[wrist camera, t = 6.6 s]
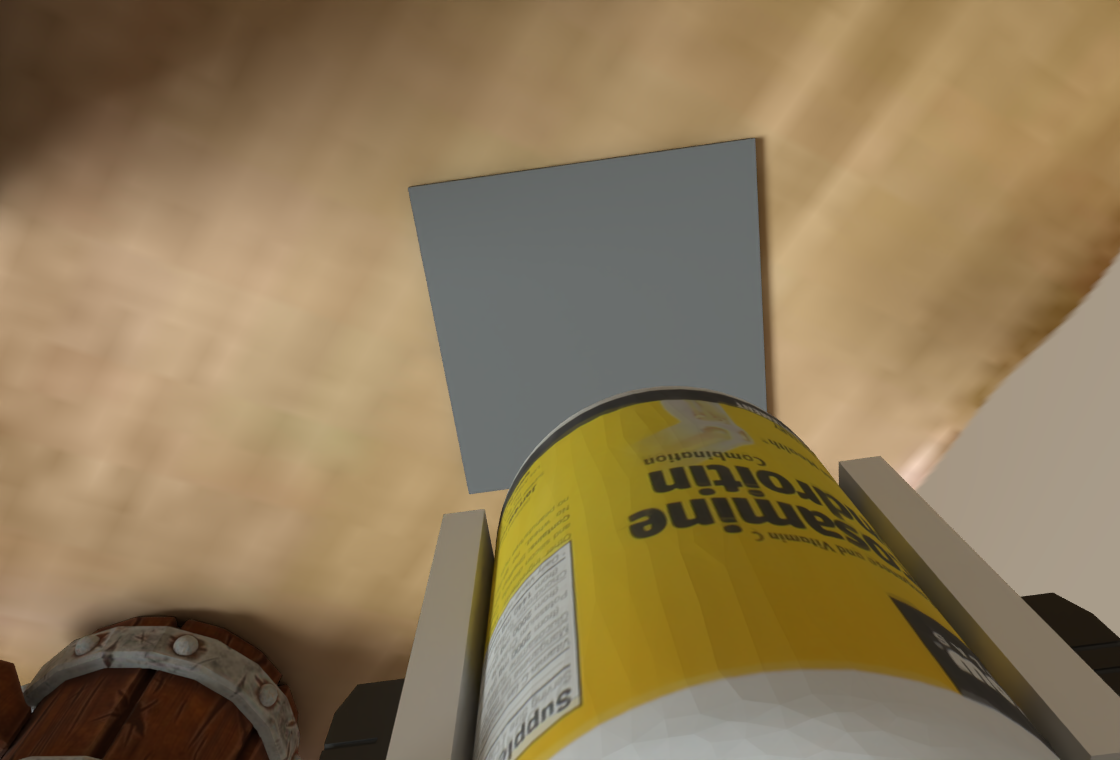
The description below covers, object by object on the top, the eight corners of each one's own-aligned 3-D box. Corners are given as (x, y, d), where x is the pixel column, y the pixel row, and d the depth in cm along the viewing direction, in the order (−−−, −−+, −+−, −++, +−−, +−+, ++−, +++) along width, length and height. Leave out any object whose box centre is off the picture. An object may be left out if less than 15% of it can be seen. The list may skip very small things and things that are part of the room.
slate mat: (469, 489, 30) (469, 494, 30) (409, 186, 26) (407, 187, 26) (765, 449, 30) (768, 453, 29) (752, 137, 26) (755, 138, 25)
